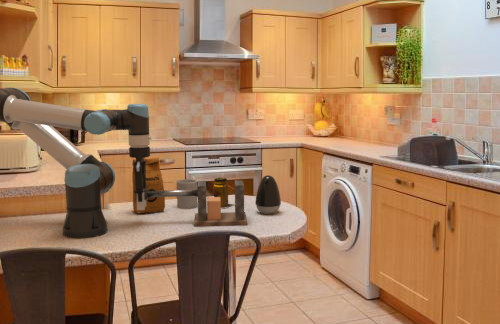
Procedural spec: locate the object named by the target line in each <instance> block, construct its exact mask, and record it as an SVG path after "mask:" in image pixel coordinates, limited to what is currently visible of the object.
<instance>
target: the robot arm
mask: <svg viewBox="0 0 500 324" xmlns="http://www.w3.org/2000/svg"><path fill="white" fill-rule="evenodd" d="M126 107H127V108H126V109H125V108H124V109H106V108H104V109H103V108H102V109H98V110H97V109H96V110H93V109H86V108H79V107H72V106H66V105H59V104H52V103H47V102H46V103H45V102H39V101H32V100H31V98H30V96H29V95H28V93H26V92H25V91H23V90H22V89H20V88H15V87H5V88H4V87H3V88H0V123H5V124H6V125H7V126H9V128H10V129H12V130H14V131H15V130H20V132H21V133H23V134H24V135H25V136H26V137H28V138H29V139H30V140H32V142H34V143H35V144H36V145H37V146H38V147H39V148H41V149H42V150H44V152H45V153H47V154H48V155H49V156H50V157H51V158H53V159H54V160H55V161H56V162H57V163H58V164H60V165H61V166H62V167H63V168H65V169H66V170H65V172H64V188H65V190H64V191H65V203H66V204H65V205H66V215H65V217H64V218H65V219H64V221H63V224H62V235H63V236H64V237H66V238H70V237H71V238H73V239H85V238H93V237H99V236H102V235H104V234H106V233H107V232H108V231H109V230H108V229H109V228H108V222H107V220H106V218H105V217H106V216H104V213H103V210H102V209H103V208H102V195H104V194H106V193H108V192H109V191H110V189H112V188H113V186H114V184H115V182H116V173H115V170H114V169H113V168H114V167H112V166H111V164H109V163H107V162H105V161H100V160H99V159H98V158H97V157H95V156H94V155H93V154H90V153H89V154H85V153H84V152H83V151H82V150H81V149H80V148H78V147H77V146H76V145H75V144H74V143H72V142H71V141H70V140H69V139H68V138H66V136H64V135H63V134H62V133H60V132H59V130H58V129H56V128H61V129H68V130H75V131H82V132H87V133H89V134H91V135H95V136H96V135H98V136H99V135H104V134H105V133H108V132H112V131H128V134H127V135H128V146H129V148H128V154H129V157H130V158H132V159H134V158H135V159H136V161H135V162H134V169H135V188H136V190H135V191H134V193H136V195H137V210H145V207H146V200H144V191H143V188H147V189H148V187H146V161H144V159H146V158H149V157H150V156H151V147H150V143H151V142H150V140H152V137H151V136H150V116H149V106H148V105H147V104H146V103H145V104H144V103H130V104H128V105H127V106H126Z"/></svg>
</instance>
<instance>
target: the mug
mask: <svg viewBox="0 0 500 324" xmlns="http://www.w3.org/2000/svg"><path fill="white" fill-rule="evenodd" d="M197 186H198V181H197V179H191V178H189V179H188V178H185V179H179V180H176V190H198V187H197ZM176 202H177V204H176V205H177V208H179V209H185V210H188V209H195V208H198V196H182V197H176Z"/></svg>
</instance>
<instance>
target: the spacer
mask: <svg viewBox="0 0 500 324" xmlns="http://www.w3.org/2000/svg"><path fill="white" fill-rule="evenodd" d="M206 206H207V220H218V219H221V213H222V212H221V209H222V208H221V200H220V197H214V196H209V197H208V196H206Z"/></svg>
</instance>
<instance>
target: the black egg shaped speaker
mask: <svg viewBox="0 0 500 324" xmlns="http://www.w3.org/2000/svg"><path fill="white" fill-rule="evenodd" d="M281 198H282V197H281V194H280V190H279V187H278V183H277V181H276V179H275V178H274V176H272V175H264V176H263V177H262V178H261V179H260V180H259V183H258V186H257V190H256V195H255V201H254V202H255V206H256V208H257V210H258V211H259V213H261V214H263V215H273V214H275V213H277V212H278V211H279V210H280V207H281V204H282V200H281Z"/></svg>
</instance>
